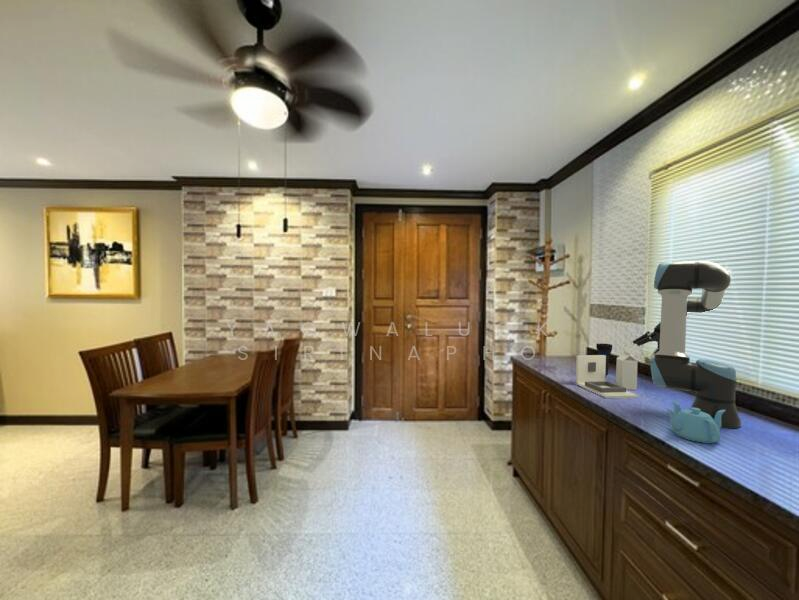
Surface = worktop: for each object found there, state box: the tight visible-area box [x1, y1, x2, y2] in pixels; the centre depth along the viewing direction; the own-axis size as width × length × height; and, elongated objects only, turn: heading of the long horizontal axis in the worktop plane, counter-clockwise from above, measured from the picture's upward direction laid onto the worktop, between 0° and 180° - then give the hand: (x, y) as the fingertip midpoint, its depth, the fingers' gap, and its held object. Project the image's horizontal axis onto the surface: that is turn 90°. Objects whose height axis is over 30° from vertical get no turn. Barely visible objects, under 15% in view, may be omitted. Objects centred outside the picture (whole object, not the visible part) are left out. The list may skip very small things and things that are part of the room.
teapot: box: [666, 400, 726, 444], centre depth 122 cm, size 15×15×10 cm
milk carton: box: [615, 350, 639, 391], centre depth 183 cm, size 7×7×19 cm
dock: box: [575, 354, 639, 399], centre depth 177 cm, size 24×16×16 cm, turn 6°
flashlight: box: [595, 342, 613, 379], centre depth 203 cm, size 8×8×20 cm
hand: (638, 356), depth 184 cm, fingers open, 13 cm apart
